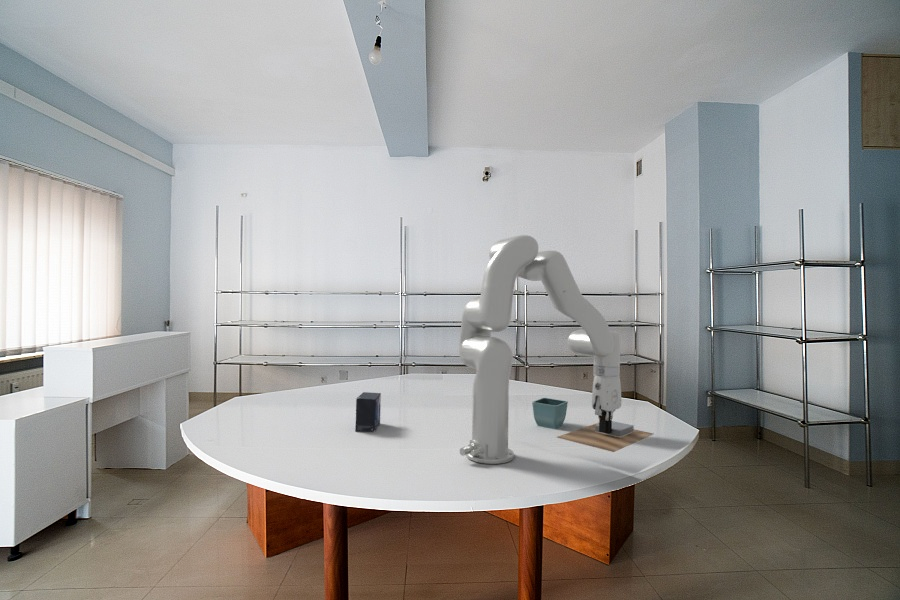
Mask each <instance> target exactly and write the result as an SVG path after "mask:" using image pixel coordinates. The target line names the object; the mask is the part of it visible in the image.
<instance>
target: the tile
mask: <svg viewBox="0 0 900 600" xmlns="http://www.w3.org/2000/svg"><path fill="white" fill-rule="evenodd" d="M634 427H635V425H633V424H628V423H623V422H618V421H614V420H612V432H611V433H609V434H607V435H611V436H616V437H622V436H625V435H627V434H630V433H632V432H634V429H635V428H634ZM595 432H598V433H601V432H599V424H598V425H595ZM603 434H606V433H603Z"/></svg>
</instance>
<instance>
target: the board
mask: <svg viewBox="0 0 900 600" xmlns="http://www.w3.org/2000/svg"><path fill="white" fill-rule="evenodd" d="M598 424H599V422H597V423H594V424H591V425H588V426H585V427H581V428H579V429H576V430H573V431H570V432H566V433H564V434H561V435H558V436H556V438H557V439H561V440H565V441H570V442H573V443H577V444H581V445H585V446H589V447H592V448H597V449H601V450H605V451H608V452H612V453H614V452H616V451H619V450H621V449H624V448H626V447H628V446H630V445H632V444H634V443H637V442H639V441H641V440H644V439H646V438H648V437H650V436H652V435H654V432H648V431H643V430H639V429H635V428H634V432H632V433H630V434H627V435H625V436H622V437H616V436H611V435H607V434H603V433H598V432H595V425H598Z"/></svg>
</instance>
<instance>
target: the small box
mask: <svg viewBox="0 0 900 600" xmlns="http://www.w3.org/2000/svg"><path fill="white" fill-rule="evenodd" d="M381 400H382V395H381V392H367V391H366V392H365V391H364V392H362V393H361V394H360V395H358V396H357V398H356V399H355V404H356V405H355V406H356V407H355V429H354V430H355V432H366V433H367V432H368V433H369V432H370V433H371V432H373V433H375V431H376V430H377V428H378V427H379V426H380V424H381V407H382V406H381Z"/></svg>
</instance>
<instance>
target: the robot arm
mask: <svg viewBox="0 0 900 600" xmlns="http://www.w3.org/2000/svg"><path fill="white" fill-rule="evenodd" d="M517 277H518V278H521V279H523V280H527V281H532V282H539V281H541V283H542V284H543V287H544V289H545V291H546V293H547V296H548V297H549V300H550V302H551V304H552V306H553V308H554V309H555V310H557V311H558V312H560V313H561V314H563V315H565V316H566V317H568V318H570V319H571V320H573V321H574V322H576V323H577V324H578V325H579V326H580V327H581V328H582V329H577V330H575V331H572V332H570V334H569V336H568V337H567V347H568V348H569V350H570V351H571V352H572V353H575V354H577V355H581V356H585V357H586V356H587V357H593V367H592V371H593V373H592V375H593V382H592V390H591V391H592V392H591V408H592V409H593V410H594V415H595V416H598V423H599V432H601V433H606V434H609V433H611V432H612V421H613V417H614V413H615V412H616V410H619V409H620V408H621V407H622V386H621V385H622V384H621V378H620V374H621V373H620V372H621V371H620V369H621V334H620V333H619V332H618V331H615V330H611V329H610V327H609V325H608V322H607V320H606V319H605V317H604V315H602V313H601V312H600V311H599V310H598V309H597V308H596V306H594V305H593V304H592V303H591V301H589V300H588V299H586V298H585V297H584V296H583V294H582V293H581V291H580V289H579V287H578V285H577V283H576V280H575V277H574V275H573V274H572V271H571V269H570V266H569V265H568V263H567V260H566V258H565V256H564V255H563V254H562V253H561V252H560V251H557V250H544V251H539V243H538V241H537V239H535V238H534V237H533V236H531V235H525V234H522V235H521V234H520V235H515V236H513V237H508V238H504V239H500V240H498V241H496V242H494V243H493V244H492V245H491V247H490V249H489V262H488V264H487V265H486V267H485V270H484V274H483V278H482V284H481V291H480V296H475V297H473V298H471V299H470V300H469V301H468V302H467V303H466V304H465V306H464V309H463V311H462V317H461V323H460V324H461V325H460V326H461V327H460V334H459V344H458V345H459V347H458V349H459V350H458V352H459V357H460V360H461V361H462V363H463V364H464V365H465V366H467V367H468V368H470V369H474V370H476V373H475V376H474V379H473V385H472V427H471V428H472V431H471V432H472V433H471V439H470V440H469V444H468V445H467V446H464V447H460V448H459V454H460V455H461V456H466V457H467V458H468V459H469V460H470V461H473V462H476V463H480V464H485V465H486V464H489V465H496V464H504V463H508V462H511V461H513V459H514V456H515V453H514V451H513V450H512V449H510V448H509V403H510V402H509V401H510V399H509V398H510V397H509V396H510V395H509V389H510V388H509V387H510V376H511V371H512V365H513V361H514V360H513V352H512V349H511V347H510V345H509V344H508V343H507V342H506V341H505V340H504V339H502V338H498V337H496V336H492V332H493V333H498V332H503V331H505V330H506V329H507V328H508V327H509V326H510V323H511V321H512V320H511V319H512V311H513V310H512V309H513V301H514V300H513V299H514V291H515V284H516V283H515V282H516V279H517Z"/></svg>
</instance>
